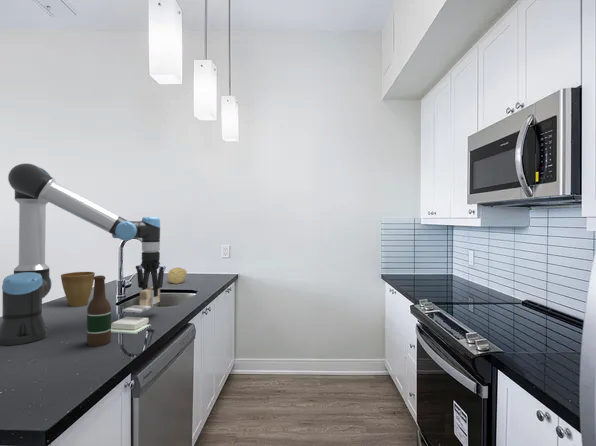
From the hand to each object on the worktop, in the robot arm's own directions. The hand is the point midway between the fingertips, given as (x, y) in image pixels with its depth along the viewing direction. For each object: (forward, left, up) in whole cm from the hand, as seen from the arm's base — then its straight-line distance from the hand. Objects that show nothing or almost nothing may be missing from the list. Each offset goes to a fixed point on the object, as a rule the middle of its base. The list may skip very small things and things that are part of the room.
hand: (150, 303), depth 166 cm
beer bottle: (-34, 0, -7) cm, 35 cm away
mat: (-17, 0, -6) cm, 18 cm away
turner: (-4, 0, 0) cm, 4 cm away
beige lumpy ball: (+86, +30, -7) cm, 91 cm away
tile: (-10, 0, -5) cm, 11 cm away
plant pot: (+15, +48, -7) cm, 51 cm away
